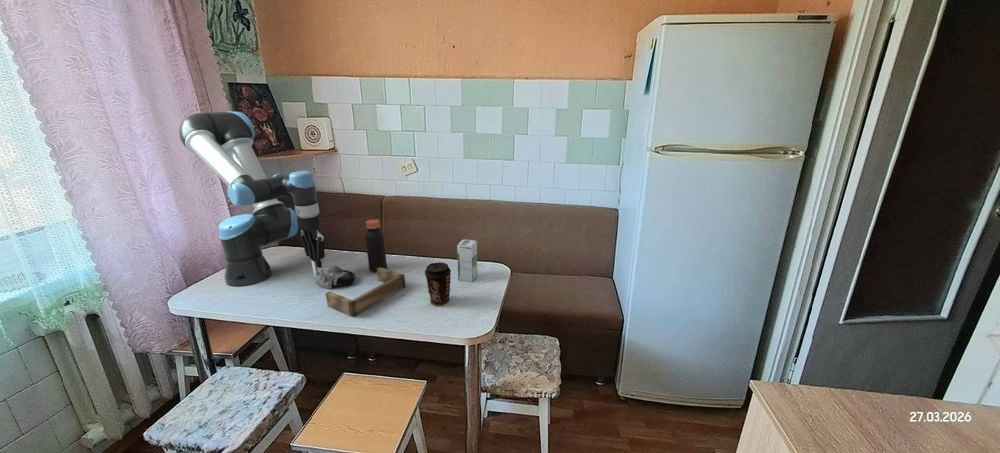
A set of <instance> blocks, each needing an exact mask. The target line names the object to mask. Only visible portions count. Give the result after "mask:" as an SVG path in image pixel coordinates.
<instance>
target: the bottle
mask: <svg viewBox="0 0 1000 453" xmlns="http://www.w3.org/2000/svg"><path fill="white" fill-rule="evenodd" d="M380 224H381V223H380V220H379V219H369V220H366V221H365V226H366V229H367V231H366V233H365V234H364V237H365V238H364V239H365V247H366V248H365V249H366V255H367V262H368V270H369V271H370V273H375V274H377V268H379V267H381V268H384V269H387V268H388V262H387V256H386V247H385V246H386V245H385V237H384V232H383V231H382V230H381V229H380V228H381V227H380V226H381V225H380Z"/></svg>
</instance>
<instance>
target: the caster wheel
mask: <svg viewBox="0 0 1000 453" xmlns="http://www.w3.org/2000/svg"><path fill="white" fill-rule="evenodd" d="M355 278H356V274H355V273H354V272H352V271H349V270H345V269H342V268H340V267H339V266H336V265H331V266H327V267H325V268H322V269H321V268H319V267H318V268H317V275H316V276H315V282H314V284H315V285H318V286H319V287H322V288H324V289H327V290H329V291H331V290H332V286H346V287H347V286H351V285H353V284H354V283H355Z"/></svg>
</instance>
